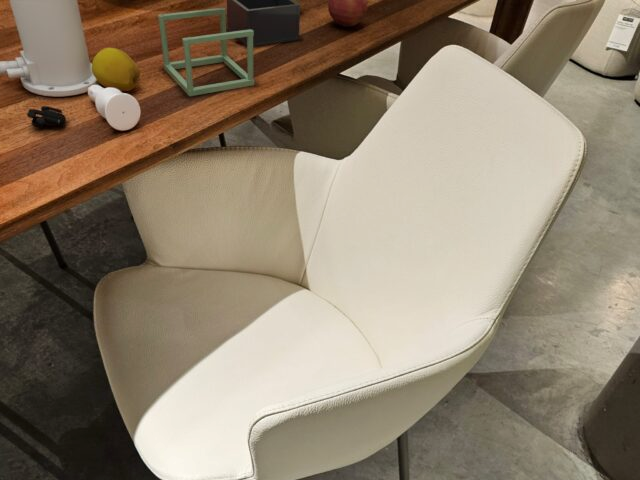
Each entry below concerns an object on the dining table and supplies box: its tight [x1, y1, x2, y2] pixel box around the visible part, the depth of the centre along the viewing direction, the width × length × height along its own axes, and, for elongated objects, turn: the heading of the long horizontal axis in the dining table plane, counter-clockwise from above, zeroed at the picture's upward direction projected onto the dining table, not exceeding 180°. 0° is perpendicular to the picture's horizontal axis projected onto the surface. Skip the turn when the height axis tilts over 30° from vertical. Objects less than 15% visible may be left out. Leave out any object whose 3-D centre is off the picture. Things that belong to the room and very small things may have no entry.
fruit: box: [327, 0, 369, 28], centre depth 122 cm, size 8×8×10 cm
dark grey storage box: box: [226, 0, 301, 48], centre depth 116 cm, size 11×9×7 cm
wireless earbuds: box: [26, 105, 67, 129], centre depth 86 cm, size 7×2×5 cm
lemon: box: [91, 47, 141, 92], centre depth 95 cm, size 6×6×8 cm
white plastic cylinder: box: [87, 84, 142, 131], centre depth 89 cm, size 5×5×12 cm
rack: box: [157, 7, 255, 97], centre depth 99 cm, size 12×12×9 cm
